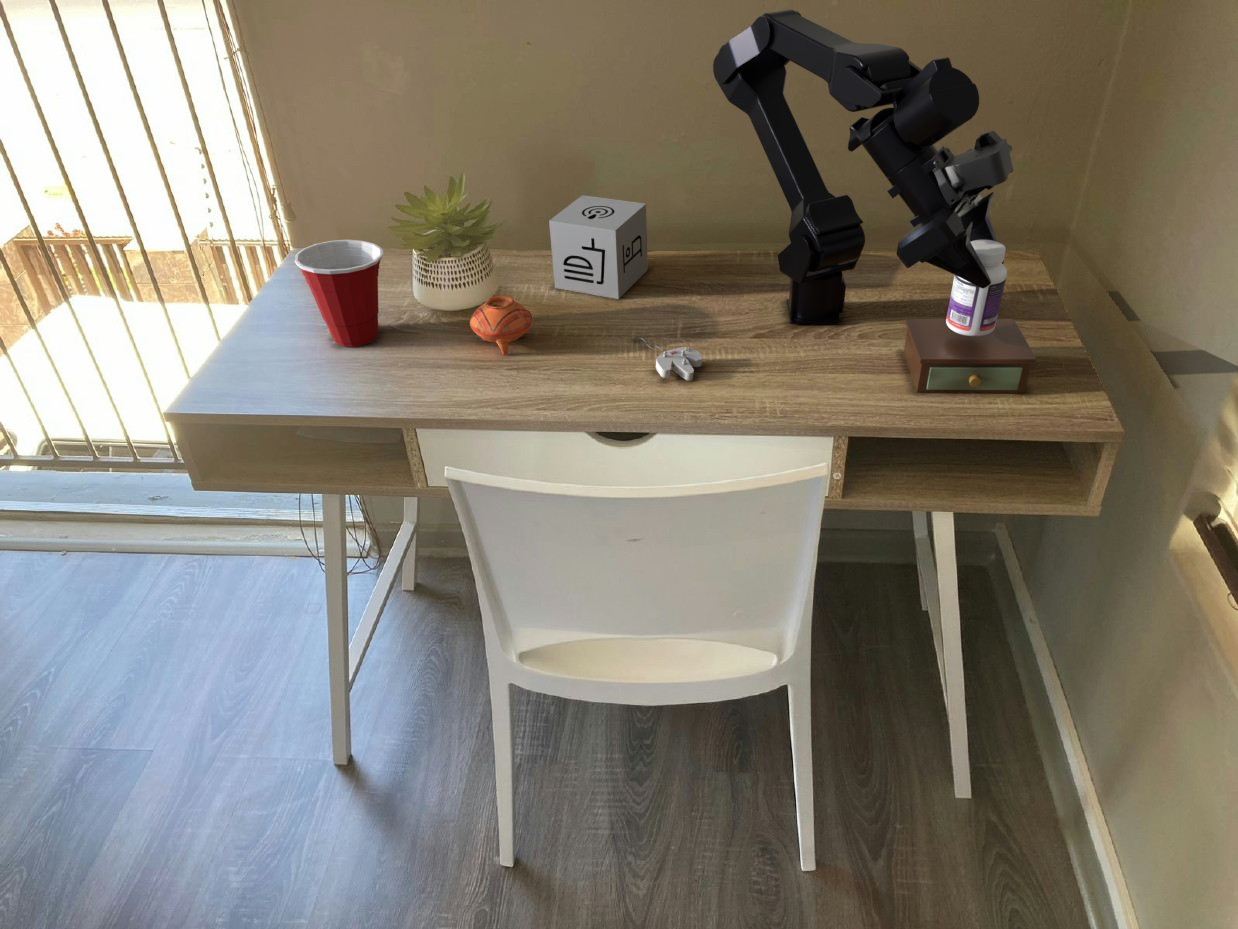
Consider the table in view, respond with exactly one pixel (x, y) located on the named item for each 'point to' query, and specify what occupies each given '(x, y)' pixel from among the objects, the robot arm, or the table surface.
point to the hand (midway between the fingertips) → (993, 275)
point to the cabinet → (967, 358)
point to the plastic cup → (344, 287)
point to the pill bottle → (978, 294)
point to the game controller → (678, 362)
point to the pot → (501, 321)
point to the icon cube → (599, 246)
